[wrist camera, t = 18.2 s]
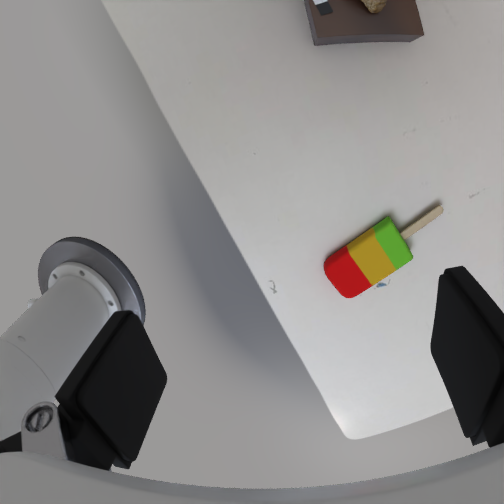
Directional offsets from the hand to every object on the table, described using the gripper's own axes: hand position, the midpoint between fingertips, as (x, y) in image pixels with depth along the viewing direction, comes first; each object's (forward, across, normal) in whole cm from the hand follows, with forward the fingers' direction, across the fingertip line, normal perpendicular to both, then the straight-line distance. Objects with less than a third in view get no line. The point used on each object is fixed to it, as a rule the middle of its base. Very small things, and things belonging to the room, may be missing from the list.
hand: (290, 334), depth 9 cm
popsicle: (+25, -10, +9) cm, 28 cm away
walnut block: (+24, -10, -18) cm, 32 cm away
